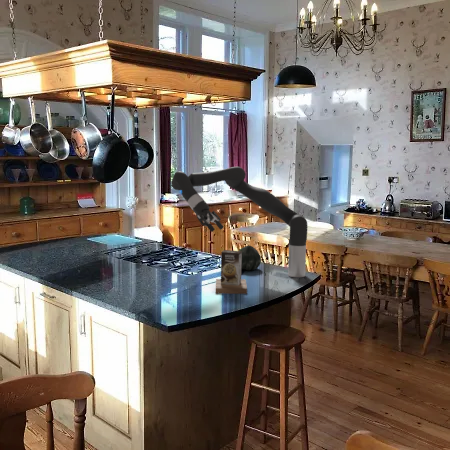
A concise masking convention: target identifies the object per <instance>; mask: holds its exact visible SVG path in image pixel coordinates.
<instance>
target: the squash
mask: <svg viewBox="0 0 450 450" xmlns="http://www.w3.org/2000/svg"><path fill="white" fill-rule="evenodd" d="M238 251H242V262H241V270H246V271H247V272H249V271H254V270H257V269H258V268H259V267H260V265H261V263H262V258H261V254H260V252H259V251H258V250H257V249H256V248H255V247H254V246H252V245H246V246H244V247H241V248H240V249H239V250H238Z"/></svg>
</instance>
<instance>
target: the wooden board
mask: <svg viewBox="0 0 450 450" xmlns="http://www.w3.org/2000/svg"><path fill="white" fill-rule="evenodd" d="M215 294H238V295H239V294H248V286H247V279H245V278H241V283H240V284H239V285H238V286H237V285H226V284H221V278H215Z"/></svg>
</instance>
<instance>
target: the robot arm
mask: <svg viewBox="0 0 450 450" xmlns="http://www.w3.org/2000/svg"><path fill="white" fill-rule="evenodd" d="M246 174H247V173H246V171H245V170H244V169H243V168H242V167H240V166H232V167H228V168H227V167H226V168H224V169H219V170H212V171H205V172H192V173H190V174H189V175H187V173H185V172H183V171H182V170H179V171H176V172H175V173H174V175H173V176H172V179H171V182H170V186H171V188H172V189H173V190H174V191H175V190H176V191H181V196H182V198H183V199H184V200H185V201H186V203H187V204H188V206H189V207H190V208H191V210H192V211H193V212H194V214H195V215H196V219H197V220H198V222H199V223H200V224H201V225H202V226H203V227H204V226H205V227H207V228H208V230H209V231H210V232H211V233H213V232H214V231H215V227H214V225H212V223H213V224H215V225H216V226H217V227H218V229H219V230H223V229H224V225H223V224H222V223H221V218H220V216H219V215H218V214H217V212H216V211H214V210H212V211H210V206H209V205H208V203H207V202H206V201H205V199H204V198H203V197H202V196H201V195H200V193H198V192H197V190H196V188H194V187H204V186H210V185H213V184H216V183H219V182H225V183H226V185H227V186H229V188H231V189H233V190H235V191H236V192H238V193H239V194H242V195H243V196H245V198H246V197H247V199H249V200H250V201H252V202H253V203H255V205H257V206H259V207H260V208H261V209H263V210H264V211H266V212H267V213H269V214H270V215H273V216H274V217H277V218H279V220H282V221H283V222H284V223H285V224H286V225H287V226H288V227H289V238H288V261H287V262H288V265H287V266H288V268H287V276H288V277H291V278H304V277H306V264H307V263H306V259H307V254H306V253H307V240H308V220H307V219H306V218H305V217H304V216H303V215H302V214H299V213H298V212H296V211H294V210H293V209H291V208H289V207H288V206H287V205H286V204H285V203H284V202H282V201H281V200H280V199H279V198H277V196H275V195H274V194H273V193H271V192H270V191H268V190H267V189H264V188H261V187H256V186H253V185H251V184H249V183H248V182H246V181H245V178H246Z"/></svg>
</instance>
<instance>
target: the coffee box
mask: <svg viewBox="0 0 450 450" xmlns="http://www.w3.org/2000/svg"><path fill="white" fill-rule="evenodd" d="M220 255H221V256H220V258H221V260H220V279H221V284H226V285H237V286H238V285H239V284H240V283H241V279H242V269H241V262H242V251H239V250H229V249H224V250H222V251H221V253H220Z"/></svg>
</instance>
